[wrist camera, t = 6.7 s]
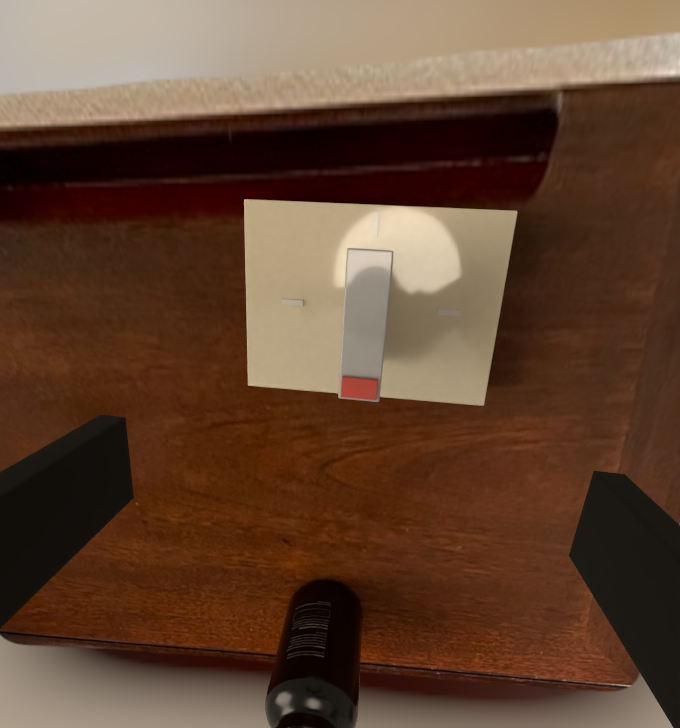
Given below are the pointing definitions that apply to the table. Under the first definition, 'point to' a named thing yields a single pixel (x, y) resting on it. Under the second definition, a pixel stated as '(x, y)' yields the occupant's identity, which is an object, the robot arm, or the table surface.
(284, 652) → the supplement bottle
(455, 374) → the sink deck
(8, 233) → the table surface
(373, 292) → the tap lever
